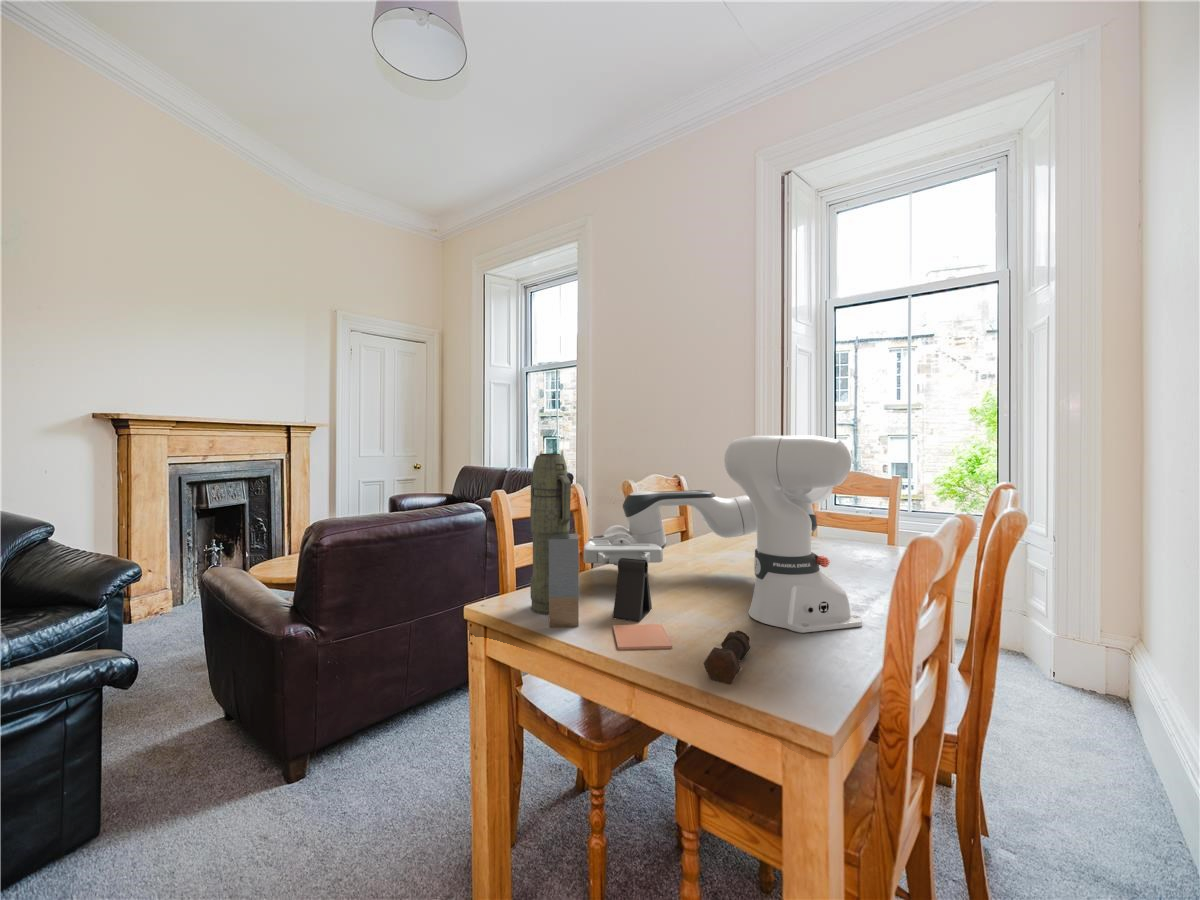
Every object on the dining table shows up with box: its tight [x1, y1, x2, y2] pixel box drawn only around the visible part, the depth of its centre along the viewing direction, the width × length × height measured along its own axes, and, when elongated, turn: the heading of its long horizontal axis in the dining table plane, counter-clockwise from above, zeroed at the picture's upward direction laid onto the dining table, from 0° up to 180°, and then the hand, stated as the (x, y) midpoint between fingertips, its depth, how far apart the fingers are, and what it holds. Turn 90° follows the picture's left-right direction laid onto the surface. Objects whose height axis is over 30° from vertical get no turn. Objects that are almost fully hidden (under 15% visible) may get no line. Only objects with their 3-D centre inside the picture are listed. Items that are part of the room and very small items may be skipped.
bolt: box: [703, 630, 751, 685], centre depth 89 cm, size 6×5×15 cm
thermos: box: [529, 453, 572, 616], centre depth 117 cm, size 9×12×35 cm
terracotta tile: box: [612, 623, 673, 651], centre depth 101 cm, size 10×11×1 cm
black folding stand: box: [612, 558, 653, 623], centre depth 114 cm, size 9×6×12 cm, turn 157°
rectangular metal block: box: [548, 533, 581, 628], centre depth 109 cm, size 6×6×18 cm
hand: (625, 560), depth 126 cm, fingers open, 8 cm apart
